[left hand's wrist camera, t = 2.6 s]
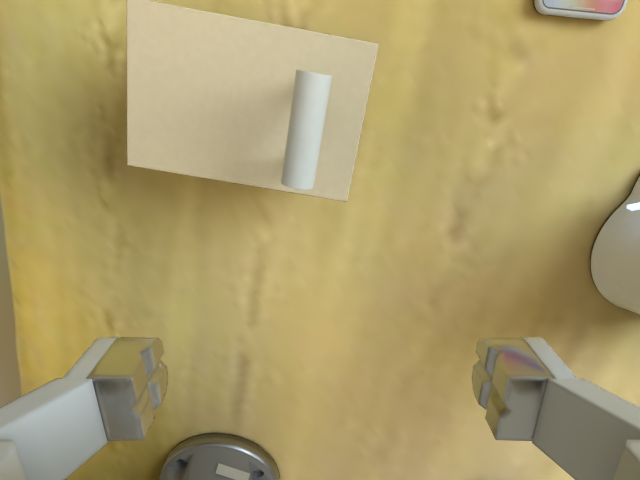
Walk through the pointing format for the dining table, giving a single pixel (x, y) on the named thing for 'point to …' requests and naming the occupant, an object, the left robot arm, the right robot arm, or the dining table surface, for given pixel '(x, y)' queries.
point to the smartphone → (582, 8)
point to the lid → (244, 99)
